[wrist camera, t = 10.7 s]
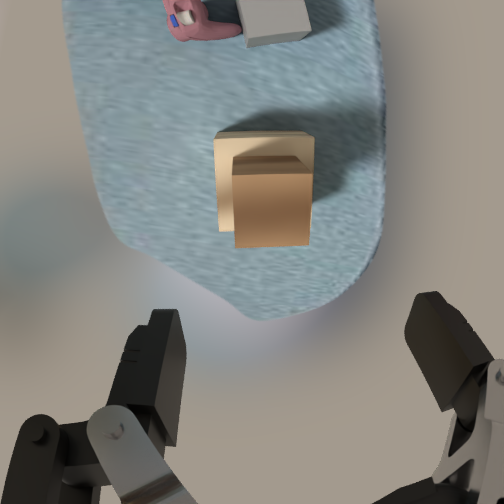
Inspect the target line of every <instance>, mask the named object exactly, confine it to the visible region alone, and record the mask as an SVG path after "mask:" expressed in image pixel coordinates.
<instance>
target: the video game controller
mask: <svg viewBox="0 0 504 504" xmlns="http://www.w3.org/2000/svg"><path fill="white" fill-rule="evenodd" d="M163 3H164V6H165V9H166V12H167V14H168V16H167V25H168V28H169V30H170V32H171V34H172V35H173V36H174V37H175V38H176V39H177V40H179V41H182V42H185V41H188V40H204V41H207V40H219V39H226V38H230V37H234V36H236V35H238V34H239V33H240V32H241V31H242V28H241V27H240V26H239V25H236V24H234V23H221V22H214V21H210V20H208V10H207V8H206V6H205V5H204V3H203V2H201V0H163Z"/></svg>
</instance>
